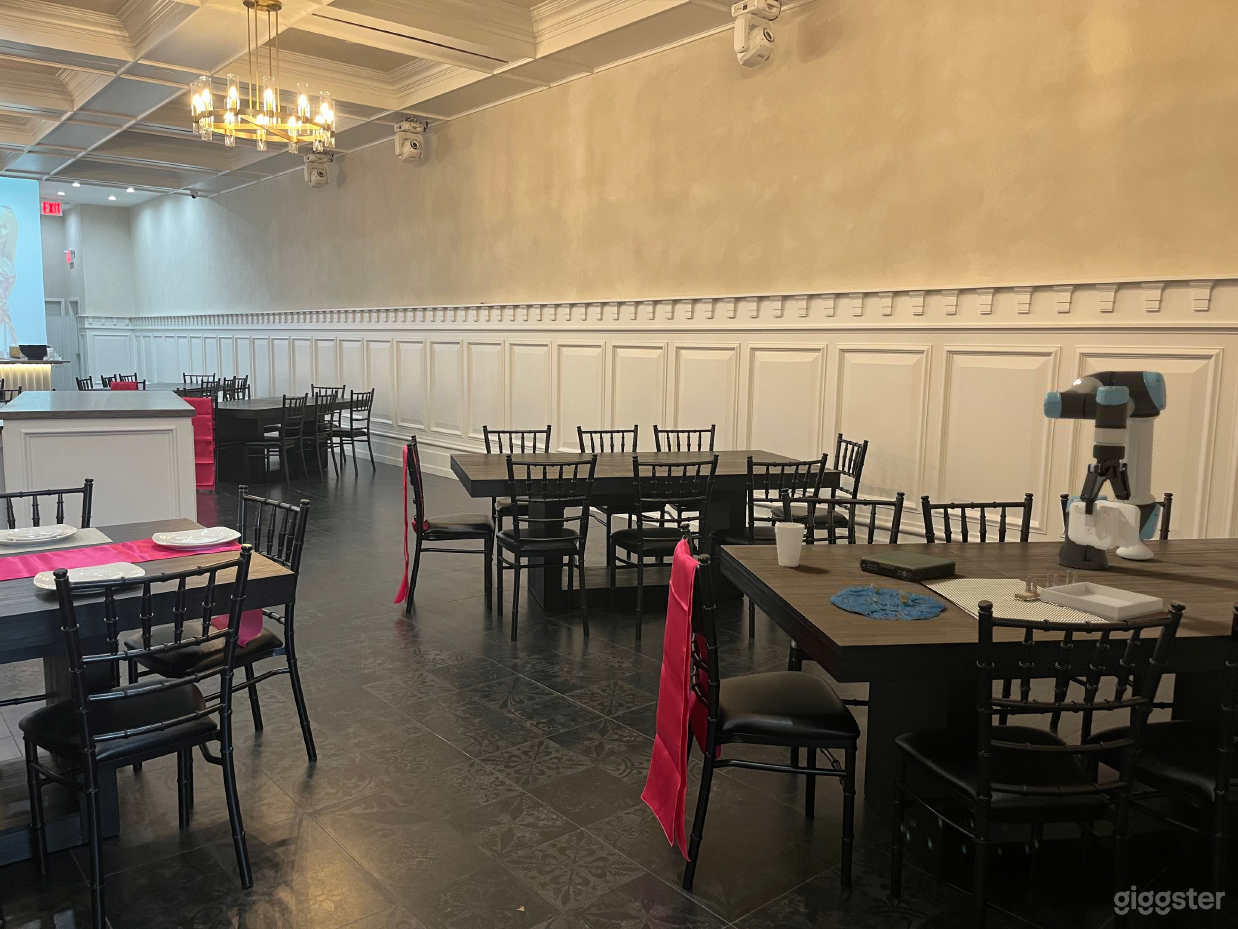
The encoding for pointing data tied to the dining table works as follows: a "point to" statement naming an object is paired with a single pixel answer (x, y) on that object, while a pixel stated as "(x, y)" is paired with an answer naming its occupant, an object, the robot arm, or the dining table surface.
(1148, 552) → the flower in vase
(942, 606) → the blue wave plaque
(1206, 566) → the dining table surface
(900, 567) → the network switch
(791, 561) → the foam cup
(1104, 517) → the cable organizer
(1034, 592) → the cable clip rail
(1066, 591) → the holder tray
